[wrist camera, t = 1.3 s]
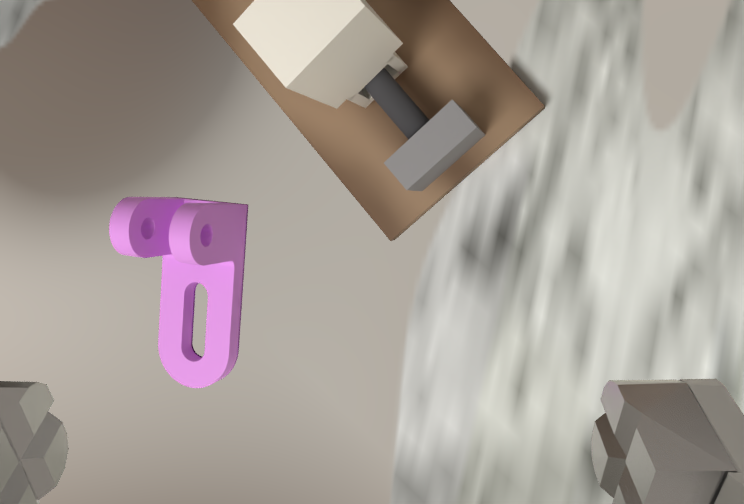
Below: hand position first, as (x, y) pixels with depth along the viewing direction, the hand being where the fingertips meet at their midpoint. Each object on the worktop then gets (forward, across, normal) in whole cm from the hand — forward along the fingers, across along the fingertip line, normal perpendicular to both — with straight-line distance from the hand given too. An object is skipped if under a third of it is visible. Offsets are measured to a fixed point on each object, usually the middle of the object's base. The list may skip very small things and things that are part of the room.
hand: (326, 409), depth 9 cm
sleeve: (+32, 0, +4) cm, 32 cm away
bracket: (+29, +11, +20) cm, 37 cm away
